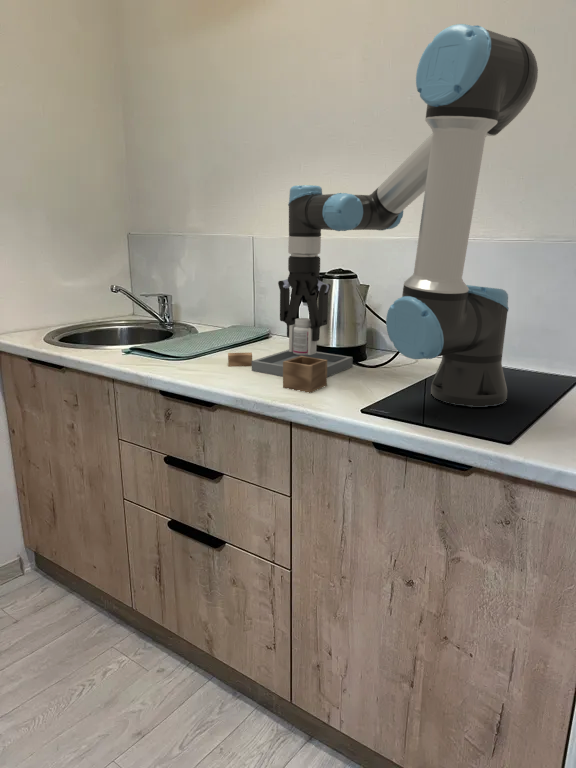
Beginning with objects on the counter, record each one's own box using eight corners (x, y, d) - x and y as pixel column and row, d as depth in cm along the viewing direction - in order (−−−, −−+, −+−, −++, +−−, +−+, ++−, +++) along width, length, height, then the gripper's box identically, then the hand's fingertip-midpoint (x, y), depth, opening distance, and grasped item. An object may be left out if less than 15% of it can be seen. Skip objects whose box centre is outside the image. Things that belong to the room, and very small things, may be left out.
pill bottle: (310, 356, 138) (311, 321, 136) (291, 354, 139) (291, 320, 137) (313, 351, 143) (314, 318, 140) (295, 350, 144) (295, 317, 141)
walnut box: (326, 386, 127) (327, 360, 126) (309, 393, 122) (310, 366, 120) (300, 381, 131) (300, 355, 130) (282, 388, 126) (283, 361, 124)
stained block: (251, 363, 147) (251, 352, 146) (252, 366, 144) (252, 355, 143) (228, 364, 146) (228, 352, 145) (228, 367, 143) (228, 355, 143)
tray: (352, 366, 144) (352, 357, 143) (314, 382, 130) (314, 372, 129) (293, 356, 154) (293, 348, 153) (251, 370, 139) (251, 361, 139)
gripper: (345, 256, 132) (341, 354, 139) (282, 252, 142) (281, 344, 148) (329, 257, 126) (326, 360, 133) (264, 254, 136) (264, 350, 143)
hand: (302, 352), depth 141 cm, fingers closed on pill bottle, 5 cm apart
